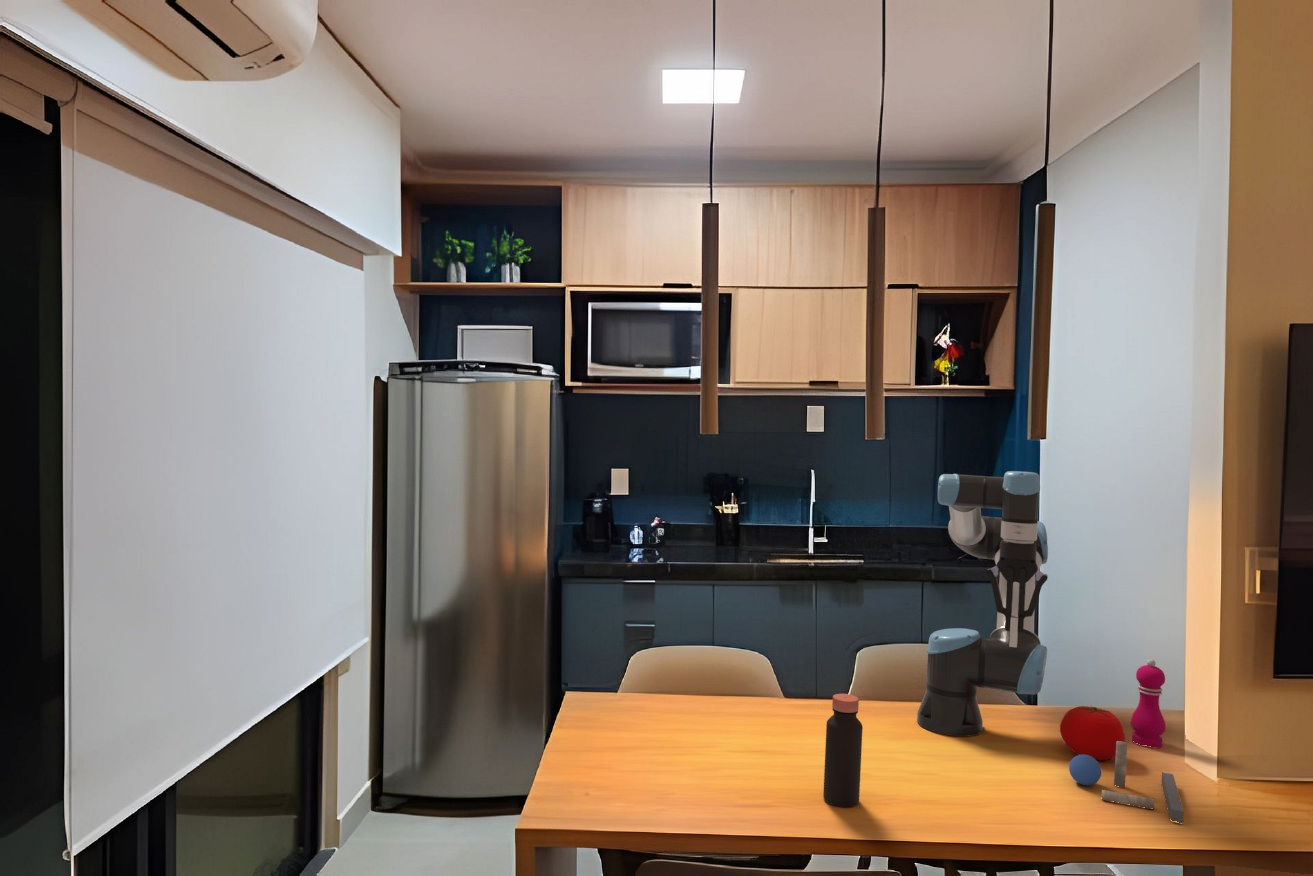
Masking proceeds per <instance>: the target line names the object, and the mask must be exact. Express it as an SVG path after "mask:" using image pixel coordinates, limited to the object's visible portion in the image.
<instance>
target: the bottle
mask: <svg viewBox="0 0 1313 876" xmlns="http://www.w3.org/2000/svg"><path fill="white" fill-rule="evenodd" d="M859 701H860V700H859V697H857V696H856V695H852V694H850V693H849V694H848V693H836V694H833V695H832V701H831V702H832V706H831V707H832V711H833V714H832V715H831V716H830V717H829V718H828V719H827V720H826V728H825V731H826V732H825V746H824V747H825V748H824V749H825V750H824V753H825V754H824V770H823V771H824V773H823V790H822V791H823V793H822V794H823V795H822V796H823V800H824V801H825V802H826V803H827V804H829V805H831V806H834V807H838V808H853V807H855V806H857V805H858V804H859V803H860V795H861V794H860V791H861V788H860V787H861V769H862V748H863V747H862V745H863V729H864V728H863V724H862V722H861V721H860V720H859V718H858V717H857V715H858V713H859V704H860V703H859Z"/></svg>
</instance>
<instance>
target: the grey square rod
mask: <svg viewBox="0 0 1313 876" xmlns="http://www.w3.org/2000/svg"><path fill="white" fill-rule="evenodd" d="M1160 782H1161V783H1162V784H1161V788H1163V789H1162V792H1164V793H1163V796H1165V797H1164V800H1165V799H1166V801H1165V804H1167V805H1166V809H1167V808H1168V809H1167V813H1168V812H1169V813H1168V816H1169V815H1170V817H1169V820H1170V819H1171V820H1172V821H1177V822H1179V823H1183V824H1184V816H1185V815H1184V814H1185V813H1184V808H1183V804H1182V801H1181V797H1180V793H1179V790H1178V787H1177V782H1176V780H1175V776H1174V774H1173V773H1169V772H1164V771H1162V772H1161V781H1160Z"/></svg>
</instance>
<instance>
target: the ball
mask: <svg viewBox="0 0 1313 876" xmlns="http://www.w3.org/2000/svg"><path fill="white" fill-rule="evenodd" d="M1068 766H1069V767H1068V768H1069V769H1068V772H1069V773H1070V776H1071V778H1072V779H1073V780H1074V781H1075V782H1077V783H1078V784H1080V785H1082V786H1093V785H1095V784H1097V783H1098V782H1099V781H1100V780H1101V777H1102V768H1101V767H1102V766H1101V764H1100V763H1099V762H1098V760H1096V759H1094V758H1093V757H1091V756H1089V755H1084V754H1082V755H1079V754H1076V755H1075V756H1073V757H1072V759H1071V760H1070V761H1069V765H1068Z"/></svg>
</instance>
